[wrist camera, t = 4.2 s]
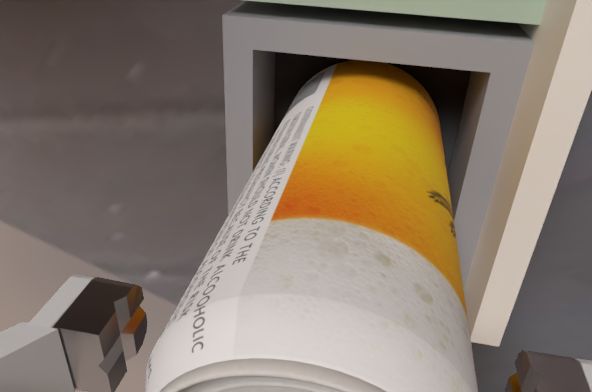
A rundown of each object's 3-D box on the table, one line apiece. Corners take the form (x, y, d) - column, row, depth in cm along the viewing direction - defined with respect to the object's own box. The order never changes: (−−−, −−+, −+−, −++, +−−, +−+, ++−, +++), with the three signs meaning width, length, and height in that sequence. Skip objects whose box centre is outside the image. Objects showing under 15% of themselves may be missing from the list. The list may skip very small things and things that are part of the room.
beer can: (371, 215, 23) (326, 612, 10) (263, 134, 22) (63, 463, 9) (472, 119, 20) (588, 516, 7) (352, 20, 19) (236, 277, 6)
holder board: (669, -417, 12) (854, -639, 7) (478, 245, 23) (498, 346, 17) (250, -403, 14) (158, -580, 9) (251, 213, 24) (209, 297, 19)
